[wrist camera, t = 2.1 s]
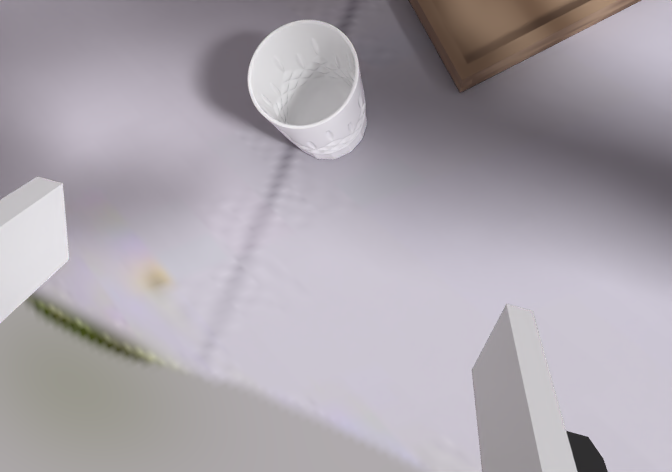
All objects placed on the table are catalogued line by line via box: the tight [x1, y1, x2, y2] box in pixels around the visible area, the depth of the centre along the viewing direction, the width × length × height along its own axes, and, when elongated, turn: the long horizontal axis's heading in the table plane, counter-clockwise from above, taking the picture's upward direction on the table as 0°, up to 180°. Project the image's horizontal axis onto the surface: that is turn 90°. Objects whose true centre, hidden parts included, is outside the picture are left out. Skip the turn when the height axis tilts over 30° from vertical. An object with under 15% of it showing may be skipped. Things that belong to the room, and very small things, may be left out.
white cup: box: [248, 20, 367, 159], centre depth 40 cm, size 8×8×10 cm
